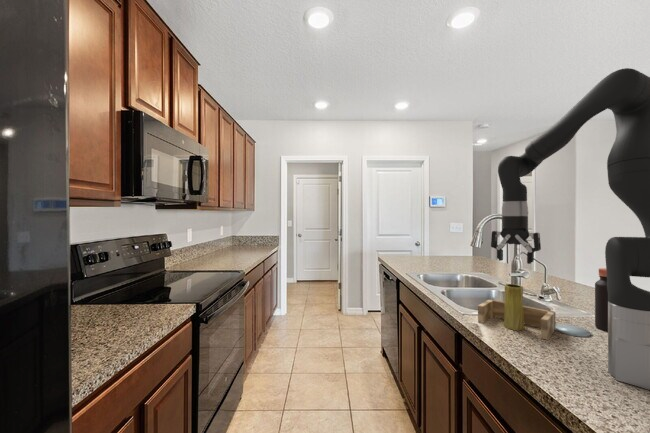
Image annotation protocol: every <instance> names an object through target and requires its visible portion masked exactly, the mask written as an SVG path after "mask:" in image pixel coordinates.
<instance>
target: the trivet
mask: <svg viewBox="0 0 650 433" xmlns="http://www.w3.org/2000/svg"><path fill="white" fill-rule="evenodd" d="M555 331H557V332H559V333H562V334H564V335H569V336H573V337H579V338H581V337H582V338H583V337H584V338H587V337H590V336H591V332H590V331H589V330H588V329H586V328H583V327H580V326H577V325H571V324H566V323H562V324H561V323H559V324H555Z"/></svg>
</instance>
